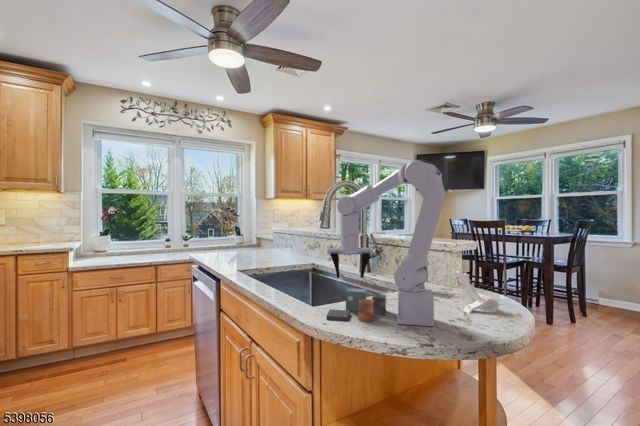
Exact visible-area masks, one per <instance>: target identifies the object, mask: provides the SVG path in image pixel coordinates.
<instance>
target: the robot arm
mask: <svg viewBox="0 0 640 426" xmlns="http://www.w3.org/2000/svg"><path fill="white" fill-rule="evenodd" d="M442 177H443V173H442V172H441V171H440V170H439V169H438V167H437V166H436V165H434V164H433V163H426V162H424V161H422V160H419V159H415V160H412V161H410V162H408V163H407V164H403V165H401V166H400V167H399V168H398V169H397V170H395V172H393V173H391V174H390V175H388V176H387V177H385V178H383V180H381V181H380V182H378V183H376V184H375V185H371V184H363V185H362V186H361V188H360V189H359V190H358V191H356V192H351V193H350V195H349V196H342V197H341V198H340V199H339V200H337V201H338V202H337V204H336V206H337V207H336V208H337V210H338V211H337V212H338V213H339V214H340V247H327V248H326V251H327V252H326V254H327V255H328V256H330V258H331V260H332V262H333V265H334V268H335V273H336V278H338V279H340V255H343V256H344V255H359V257H360V275H359V276H360V278H364V276H365V272H366V268H367V265H368V263H369V261H370V259H371V256H373V255H374V249H373V248H372V247H360V234H359V233H360V220H359V219H360V214H361V213H362V211H363V210H364V209H366V208H368V207H369V206H372V205H373V204H375V203H377V202H378V201H379V199H380V196H381V195H383V194H385V193H387V192H390V191H391V190H393V189H395V188H397V187H399V186H401V185H412V186H413V187H414V188H415V189H416V190H417V192H418V193H419V194H420V196H421V198H422V203H421V206H420V209H419V213H418V217H417V220H416V224H415V226H414V230H413V233H412V236H411V240H410V244H409V246H408V251H407V253H406V255H405V256H404V257H403V259H402V260H401V263H400V266H399V267H398V268H397V269H396V270H395V272H394V276H393V279H394V283H395V284H396V286H397V290H398V291H397V292H398V293H397V295H398V297H397V299H398V300H397V303H398V304H397V309H398V310H397V312H396V314H395V315H396V324H398V325H406V326H408V325H410V326H423V327H434V326H435V322H434V321H435V311H434V310H435V308H434V307H435V301H434V300H435V299H434V292H433V289H426V286H425V283H426V282H427V281H428V279H429V270H428V268H429V264H430V262H429V259H428V255H429V253H430V249H431V245H432V243H433V238H434V236H435V232H436V229H437V227H438V223H439V219H440V217H441V213H442V210H443V206H444V205H445V204H444V203H445V201H446V196H447V195H446V191H445V187H444V183H443V179H442Z"/></svg>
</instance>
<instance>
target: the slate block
mask: <svg viewBox="0 0 640 426" xmlns="http://www.w3.org/2000/svg"><path fill="white" fill-rule="evenodd" d="M386 295H387V294H383V293H372V295H371V296H372V297H371V300H374V315H381V316H383V315H385V316H386V315H387V296H386Z"/></svg>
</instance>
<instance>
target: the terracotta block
mask: <svg viewBox="0 0 640 426" xmlns="http://www.w3.org/2000/svg"><path fill="white" fill-rule="evenodd" d="M374 315H375V314H374V300H372V299H367V298H366V299H360V300H359V312H358V321H362V322H374V318H375V316H374Z"/></svg>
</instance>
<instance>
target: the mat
mask: <svg viewBox="0 0 640 426" xmlns="http://www.w3.org/2000/svg"><path fill="white" fill-rule="evenodd" d="M350 315H351V311H348V310H346V309H345V310H343V309H331V308H330V309H329V310H328V312H327V313H326V320H331V321H342V322H343V321H344V322H345V321H346V322H348V321H349V317H350Z"/></svg>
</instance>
